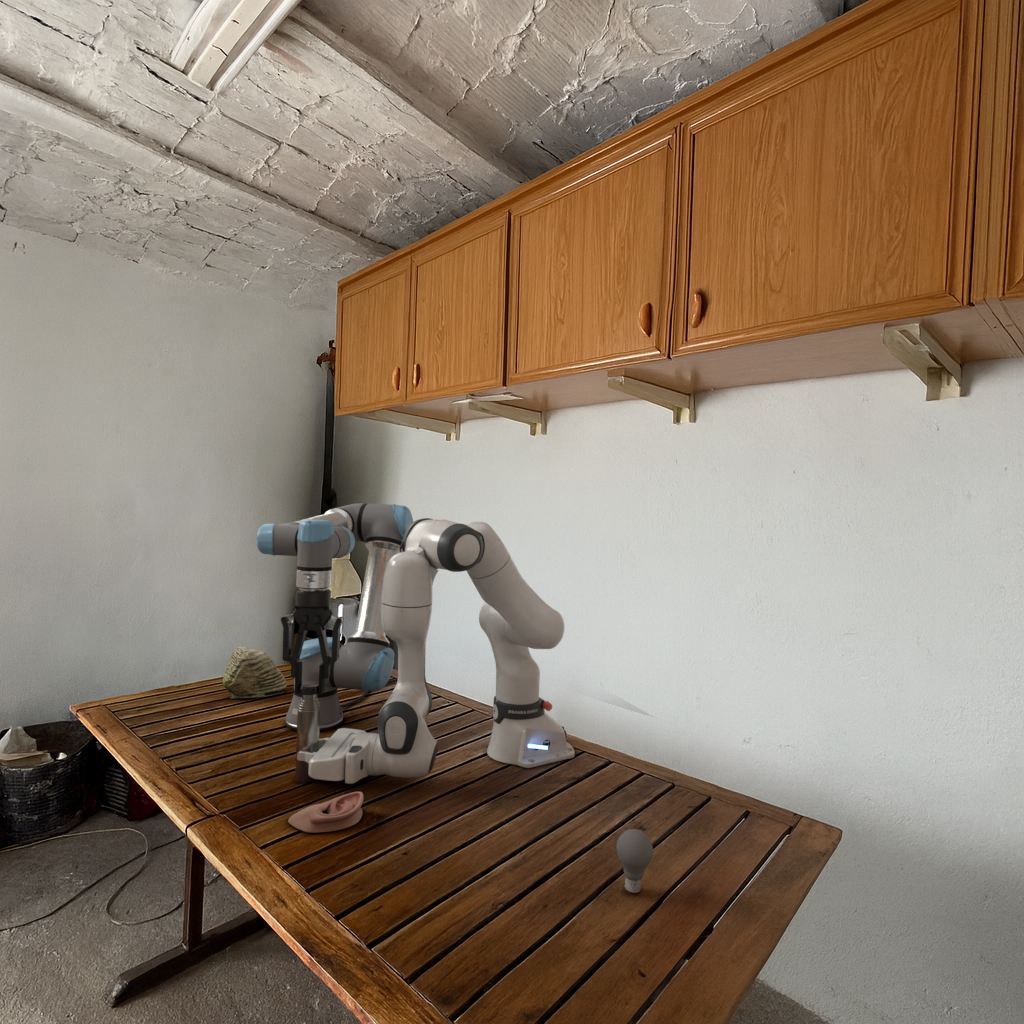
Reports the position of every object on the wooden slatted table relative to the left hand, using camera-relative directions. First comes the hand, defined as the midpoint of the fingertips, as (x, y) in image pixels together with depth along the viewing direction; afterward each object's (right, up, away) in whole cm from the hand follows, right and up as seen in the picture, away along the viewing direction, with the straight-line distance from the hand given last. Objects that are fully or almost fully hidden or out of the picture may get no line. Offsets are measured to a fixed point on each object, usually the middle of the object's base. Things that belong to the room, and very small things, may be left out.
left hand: (309, 692), depth 142 cm
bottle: (-1, -19, 0) cm, 19 cm away
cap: (0, +2, 0) cm, 2 cm away
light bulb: (+65, -23, -36) cm, 78 cm away
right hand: (-1, -13, 0) cm, 13 cm away
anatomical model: (+9, -20, -17) cm, 28 cm away
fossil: (-35, -17, +56) cm, 68 cm away
